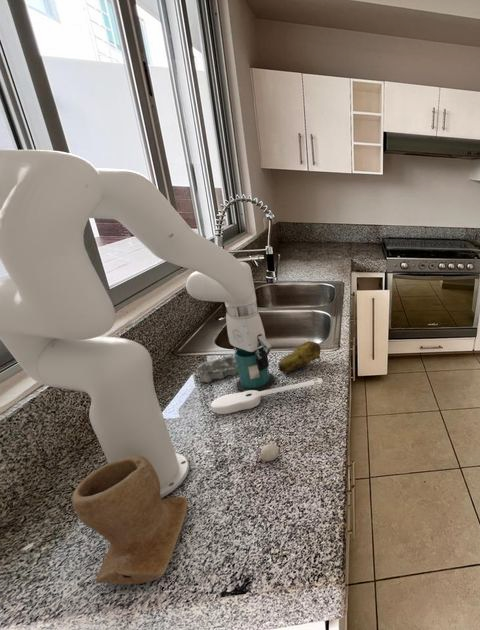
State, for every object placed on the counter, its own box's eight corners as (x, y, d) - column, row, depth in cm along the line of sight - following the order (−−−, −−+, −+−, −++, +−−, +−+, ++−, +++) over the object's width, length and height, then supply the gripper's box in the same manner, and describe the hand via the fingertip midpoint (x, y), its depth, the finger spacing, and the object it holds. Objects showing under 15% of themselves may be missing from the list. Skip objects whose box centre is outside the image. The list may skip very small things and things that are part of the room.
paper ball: (278, 464, 73) (275, 451, 72) (260, 466, 73) (257, 453, 71) (280, 451, 77) (278, 439, 75) (263, 453, 76) (261, 441, 75)
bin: (257, 390, 96) (251, 359, 92) (235, 385, 98) (228, 355, 94) (275, 376, 103) (270, 346, 99) (253, 371, 105) (247, 342, 101)
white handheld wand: (321, 383, 102) (321, 374, 101) (325, 393, 97) (324, 385, 96) (214, 405, 91) (211, 396, 90) (211, 418, 86) (209, 409, 85)
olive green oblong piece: (280, 363, 111) (276, 341, 108) (321, 358, 115) (319, 336, 112) (279, 377, 104) (275, 354, 101) (323, 370, 108) (321, 348, 105)
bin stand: (270, 391, 97) (270, 389, 97) (232, 394, 95) (232, 392, 95) (277, 372, 106) (276, 370, 106) (242, 375, 104) (242, 373, 104)
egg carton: (200, 385, 99) (197, 373, 98) (198, 373, 105) (195, 361, 103) (241, 374, 105) (238, 362, 103) (237, 363, 110) (234, 352, 109)
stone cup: (123, 513, 62) (94, 450, 56) (197, 498, 65) (177, 437, 59) (70, 608, 49) (26, 537, 43) (167, 583, 52) (138, 515, 46)
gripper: (208, 306, 92) (221, 362, 99) (252, 319, 85) (263, 379, 92) (233, 298, 98) (244, 351, 105) (276, 310, 91) (285, 366, 98)
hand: (253, 364), depth 99 cm, fingers closed on bin, 8 cm apart
